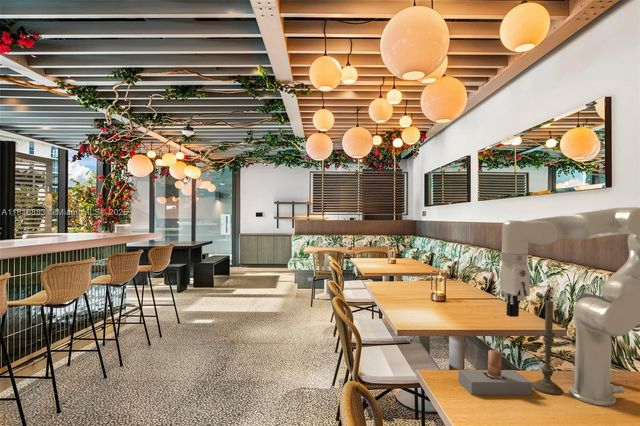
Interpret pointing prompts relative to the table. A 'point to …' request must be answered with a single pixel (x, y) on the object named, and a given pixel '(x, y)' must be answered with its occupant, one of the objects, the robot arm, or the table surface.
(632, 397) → the table surface
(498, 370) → the dowel
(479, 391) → the seat board
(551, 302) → the candlestick holder
